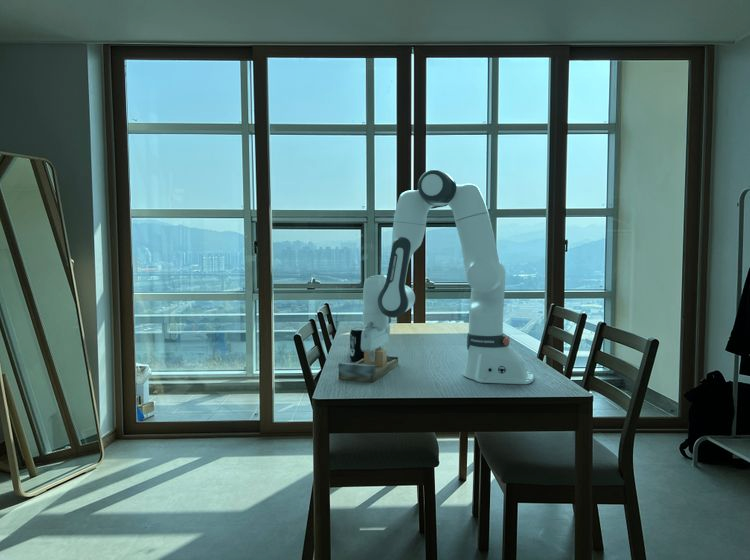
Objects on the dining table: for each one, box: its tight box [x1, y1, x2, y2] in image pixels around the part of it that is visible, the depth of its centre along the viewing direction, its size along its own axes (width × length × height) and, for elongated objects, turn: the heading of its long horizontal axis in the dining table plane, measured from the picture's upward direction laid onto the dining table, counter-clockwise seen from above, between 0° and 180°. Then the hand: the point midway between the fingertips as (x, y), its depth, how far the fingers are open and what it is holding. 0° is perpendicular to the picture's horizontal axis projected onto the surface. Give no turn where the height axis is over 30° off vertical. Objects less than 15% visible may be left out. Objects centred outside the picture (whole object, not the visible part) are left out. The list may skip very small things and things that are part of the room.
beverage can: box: [349, 327, 365, 363], centre depth 195 cm, size 7×7×12 cm
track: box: [338, 355, 399, 383], centre depth 178 cm, size 12×26×5 cm, turn 160°
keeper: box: [364, 348, 388, 366], centre depth 183 cm, size 7×4×5 cm, turn 70°
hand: (375, 359), depth 183 cm, fingers closed on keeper, 4 cm apart
